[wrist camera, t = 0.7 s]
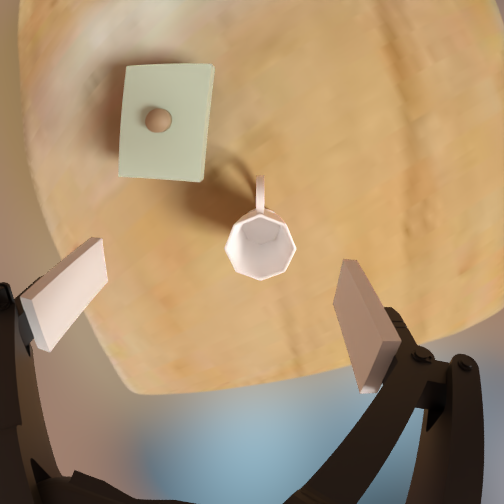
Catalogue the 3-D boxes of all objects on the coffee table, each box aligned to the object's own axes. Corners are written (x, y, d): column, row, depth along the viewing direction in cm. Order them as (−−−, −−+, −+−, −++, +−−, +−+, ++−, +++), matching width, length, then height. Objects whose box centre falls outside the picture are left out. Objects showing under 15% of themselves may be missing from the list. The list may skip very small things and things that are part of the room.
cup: (233, 250, 39) (225, 280, 31) (230, 171, 35) (220, 183, 27) (289, 250, 38) (295, 281, 31) (291, 170, 34) (298, 182, 27)
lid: (134, 68, 26) (121, 64, 24) (215, 67, 27) (209, 61, 24) (126, 173, 31) (113, 178, 28) (203, 179, 31) (197, 184, 28)
